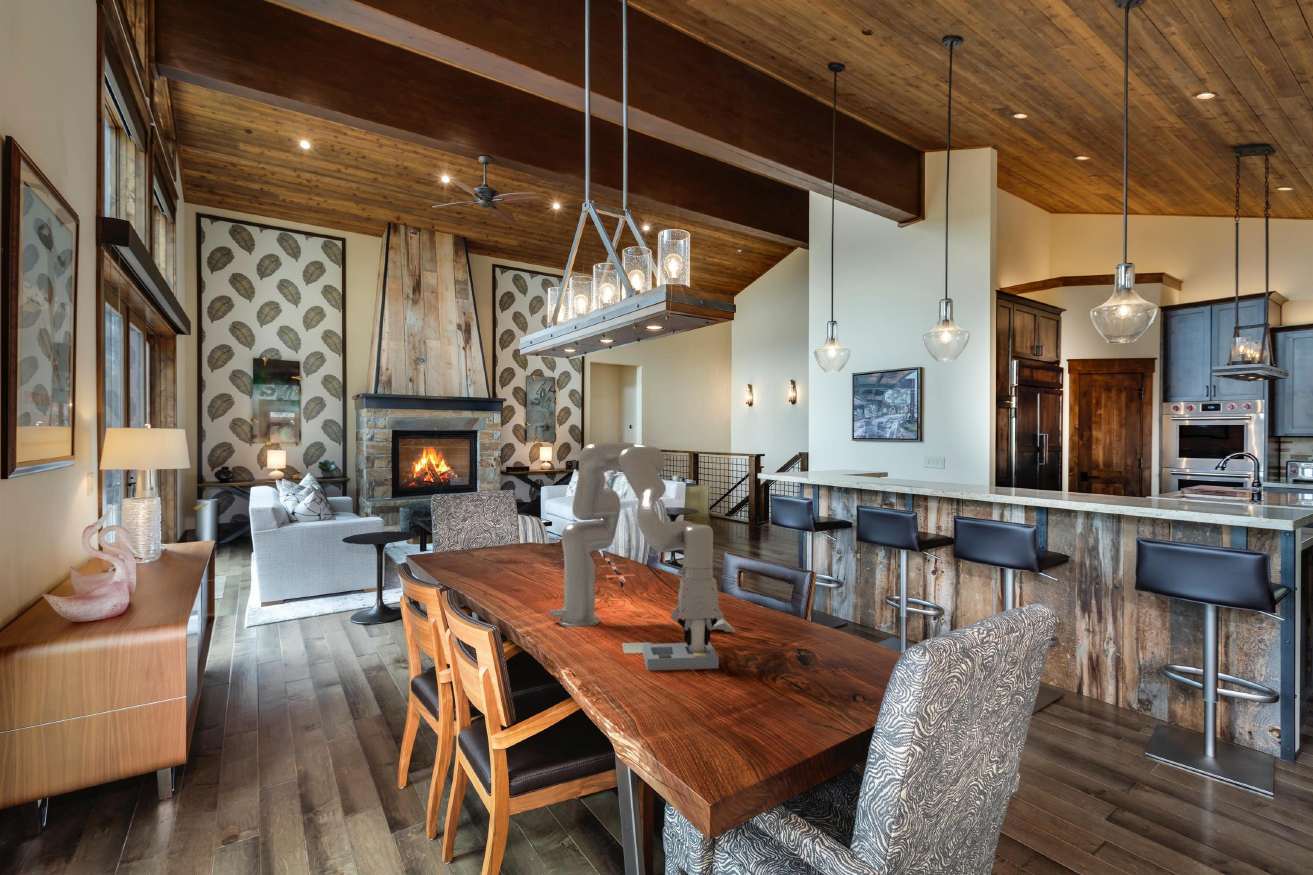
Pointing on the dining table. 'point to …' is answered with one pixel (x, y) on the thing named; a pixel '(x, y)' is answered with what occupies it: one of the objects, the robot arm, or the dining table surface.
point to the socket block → (678, 657)
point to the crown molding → (723, 626)
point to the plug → (697, 636)
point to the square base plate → (633, 647)
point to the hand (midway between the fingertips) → (696, 642)
